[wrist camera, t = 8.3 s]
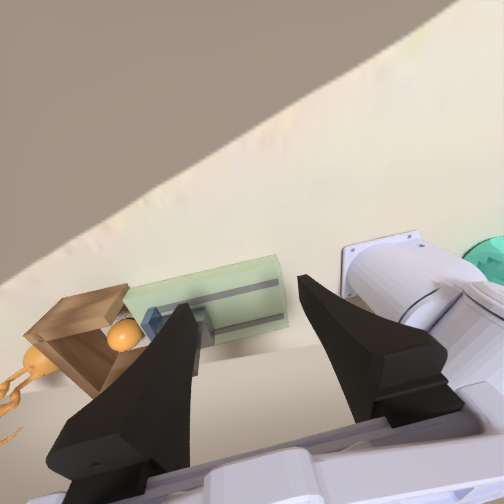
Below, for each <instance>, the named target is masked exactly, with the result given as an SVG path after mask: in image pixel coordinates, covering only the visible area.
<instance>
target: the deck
mask: <svg viewBox="0 0 504 504" xmlns="http://www.w3.org/2000/svg"><path fill="white" fill-rule="evenodd" d="M122 301H123V302H124V304H125V305H126V307H127V308H128V310H129V311H130V313H131V314H132V316H133V317H134V319H135V320H136V322H137V323H138V325H139V326H140V324H141V322H142V320H143V318H144V315H145V313H146V311H147V309H150V308H154V307H155V308H156V310H157V312H158V314H159V315H160V317H164V316H168V315H171V314H172V313H173V311H174V310H175V308H176V307H177V306H178V304H183V303H187V302H188V304H189V306H190V308H191V310H193V309H197V308H201V307H206V310H207V312H208V315H209V317H210V320H211V322H212V324H213V327H214V329H215V345H217V344H221V343H225V342H229V341H233V340H237V339H241V338H245V337H250V336H254V335H258V334H262V333H266V332H270V331H274V330H278V329H282V328H286V327H289V322H288V315H287V308H286V301H285V294H284V287H283V279H282V272H281V265H280V262H279V260H278V258H277V256H276V254H275V255H271V256H266V257H262V258H258V259H253V260H249V261H245V262H240V263H236V264H232V265H228V266H223V267H219V268H215V269H210V270H206V271H202V272H197V273H193V274H189V275H185V276H180V277H176V278H172V279H167V280H163V281H159V282H154V283H150V284H146V285H142V286H137V287H133V288H130V289H129V290H128V292H127V293H126V295H125V296H124V298H123V300H122ZM140 328H141V329H142V327H141V326H140ZM142 331H143V332H144V330H143V329H142ZM144 334H145V335H146V333H145V332H144ZM146 337H147V338H148V336H147V335H146ZM148 340H149V338H148ZM149 341H150V340H149ZM150 343H151V341H150Z"/></svg>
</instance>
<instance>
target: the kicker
mask: <svg viewBox="0 0 504 504" xmlns="http://www.w3.org/2000/svg"><path fill="white" fill-rule="evenodd" d="M191 311H192V313H193V315H194V317H195V319H196V322H197V324H198V340H197V347H196V354H195V361H194V367H193V374H192V377H194V376H197V375H198V367H199V358H200V349H202V348H206V347H210V346H214V345H215V329H214V327H213V324H212V322H211V320H210V317H209V315H208V312H207V310H206V307H201V308H197V309H193V310H191ZM170 316H171V315H168V316H164V317H160V315H159V314H158V312H157V310H156V308H155V307H154V308H150V309H147V311H146V313H145V315H144V318H143V320H142V322H141V324H140V326H141V327H142V329H143V330H144V332H145V333H146V335H147V336H148V338H149V340H150V341H151V342H152V340H153V339H154V338H155V336H156V335H157V334H158V333H159V331H160V330H161V328H162V327H163V326H164V324H165V323H166V321H167V320H168V319H169V317H170Z"/></svg>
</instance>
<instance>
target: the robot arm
mask: <svg viewBox="0 0 504 504" xmlns="http://www.w3.org/2000/svg"><path fill="white" fill-rule="evenodd" d="M420 236H421V232H420V231H418V230H415V231H410V232H406V233H402V234H398V235H393V236H389V237H385V238H380V239H376V240H372V241H368V242H363V243H359V244H355V245H350V246H347V247H345V248H344V249H343V265H342V292H341V296H342V297H343V298H344V299H346V298H351V297H355V296H360V297H361V299H362V300H363V301H364V302H365V303H366V304H367V305H368V306H369V307H370V308H371V309H372V311H373V312H374V313H375V314H376V315H375V314H373V313H371V312H368V311H366V310H364V309H361V308H359V307H357V306H355V305H353V304H351V303H349V302H347V301H346V300H344V299H342V298H340V297H339V296H337V295H335V294H334V293H332V292H331V291H329V290H328V289H326V288H325V287H323V286H322V285H321V284H319V283H318V282H316V281H315V280H314V279H312V278H311V277H310V276H308V275H307V274H305V275H301V276H297V279H298V289H299V300H300V302H301V305H302V307H303V310H304V312H305V314H306V316H307V318H308V320H309V322H310V323H311V325H312V327H313V329H314V330H315V332H316V334H317V336H318V338H319V339H320V341H321V343H322V345H323V347H324V349H325V351H326V353H327V355H328V357H329V360H330V362H331V364H332V366H333V369H334V371H335V373H336V376H337V378H338V380H339V383H340V385H341V387H342V390H343V392H344V395H345V397H346V400H347V402H348V405H349V407H350V410H351V412H352V415H353V417H354V420H355V423H356V424H353V425H349V426H345V427H341V428H337V429H334V430H330V431H326V432H322V433H318V434H314V435H311V436H307V437H303V438H299V439H296V440H292V441H288V442H284V443H280V444H276V445H272V446H269V447H265V448H261V449H257V450H253V451H249V452H246V453H242V454H238V455H235V456H230V457H226V458H223V459H219V460H215V461H211V462H207V463H203V464H200V465H196V466H192V467H190V442H189V441H190V400H191V383H192V374H193V367H194V361H195V354H196V347H197V340H198V324H197V322H196V319H195V317H194V315H193V313H192V311H191V308H190V306H189V304H188V302H187V303H183V304H178V306H177V307H176V308H175V310H174V311H173V313H172V314H171V316H170V317H169V319H168V320H167V321H166V323H165V324H164V326H163V327H162V328H161V330H160V331H159V333H158V334H157V335H156V336H155V338H154V339H153V340H152V342H151V343H150V344H149V345H148V347H147V348H146V349H145V350H144V351H143V352H142V354H141V355H140V356H139V357H138V358H137V359H136V360H135V361H134V362H133V363H132V364H131V365H130V366H129V367H128V368H127V369H126V370H125V371H124V372H123V373H122V374H121V375H120V376H119V377H118V378H117V379H116V380H115V381H114V382H113V383H112V384H111V385H110V386H109V387H107V388H106V389H105V390H104V391H103V392H102V393H101V394H99V395H98V396H97V397H96V398H95V399H94V400H92V401H91V402H90V403H89V404H87V405H86V406H85V407H84V408H82V409H81V410H80V411H78V412H77V413H76V414H75V415H74V416H72V417H71V418H70V419H68V420H67V422H66V424H65V425H64V427H63V429H62V430H61V432H60V434H59V436H58V438H57V439H56V441H55V443H54V445H53V447H52V448H51V450H50V452H49V454H48V456H47V457H46V464H47V466H48V468H50V469H51V470H52V471H54V472H56V473H58V474H60V475H62V476H64V477H66V478H68V479H70V480H71V481H72V482H71V484H70V487H69V489H68V491H67V492H64V491H63V492H62V491H61V492H54V493H51V494H47V495H43V496H39V497H35V498H32V499H30V500H29V501H28V502H27V504H482V503H485V502H488V501H491V500H494V499H497V498H501V497H504V286H502V285H499V284H496V283H493V282H489V281H488V280H487V278H486V277H485V275H484V274H483V273H482V272H481V271H480V270H479V269H478V268H477V267H476V266H475V265H473V264H472V263H470V262H468V261H466V260H464V259H462V258H460V257H458V256H456V255H454V254H452V253H449V252H447V251H445V250H443V249H441V248H439V247H437V246H434V245H432V244H430V243H428V242H426V241H424V240H422V239H420ZM351 249H353V250H351Z"/></svg>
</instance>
